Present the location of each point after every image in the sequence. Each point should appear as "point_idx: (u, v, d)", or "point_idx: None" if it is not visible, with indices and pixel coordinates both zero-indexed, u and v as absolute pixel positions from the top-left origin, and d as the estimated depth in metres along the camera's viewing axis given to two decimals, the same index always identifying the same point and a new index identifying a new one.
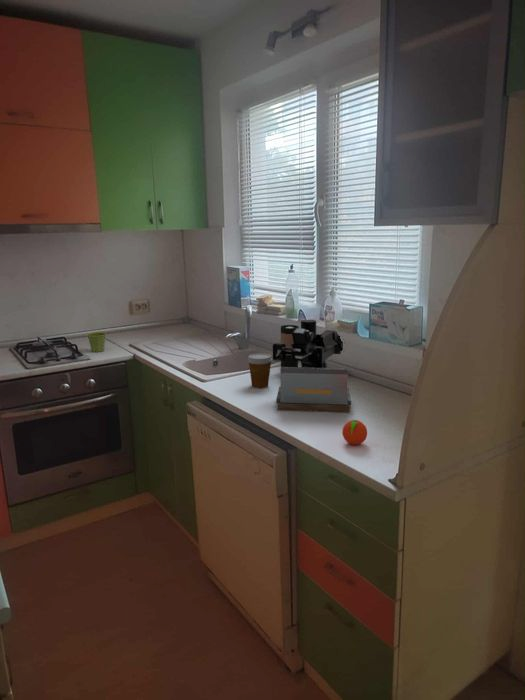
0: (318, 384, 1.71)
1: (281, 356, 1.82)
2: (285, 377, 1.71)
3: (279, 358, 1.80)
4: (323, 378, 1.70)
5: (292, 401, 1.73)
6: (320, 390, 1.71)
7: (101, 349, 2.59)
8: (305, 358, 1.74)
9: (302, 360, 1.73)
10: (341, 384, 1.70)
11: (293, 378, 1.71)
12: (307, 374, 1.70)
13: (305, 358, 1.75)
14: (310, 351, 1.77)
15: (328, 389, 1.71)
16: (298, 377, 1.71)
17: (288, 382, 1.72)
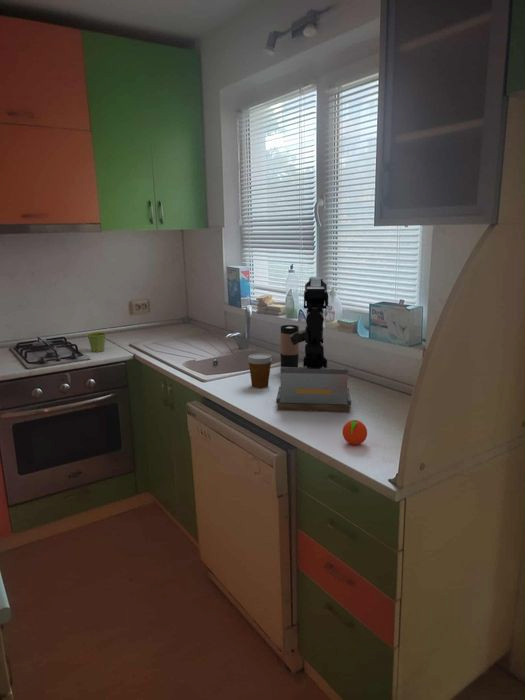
0: (318, 384, 1.71)
1: None
2: (285, 377, 1.71)
3: None
4: (323, 378, 1.70)
5: (292, 401, 1.73)
6: (320, 390, 1.71)
7: (101, 349, 2.59)
8: (312, 364, 1.78)
9: None
10: (341, 384, 1.70)
11: (293, 378, 1.71)
12: (307, 374, 1.70)
13: (313, 364, 1.78)
14: None
15: (328, 389, 1.71)
16: (298, 377, 1.71)
17: (288, 382, 1.72)
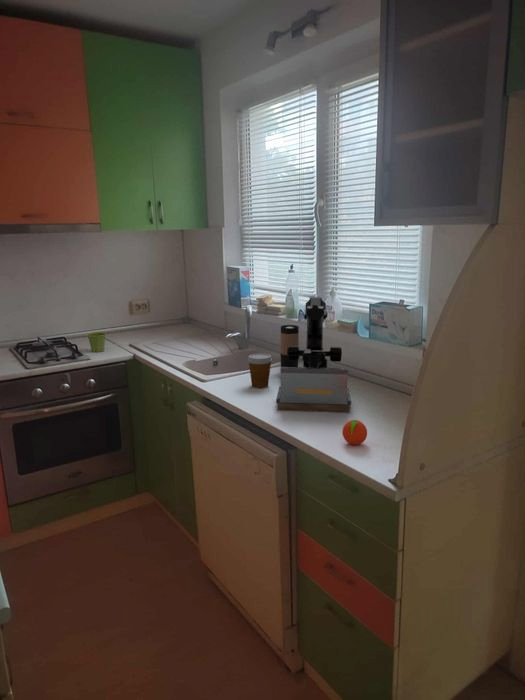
0: (318, 384, 1.71)
1: None
2: (285, 377, 1.71)
3: None
4: (323, 378, 1.70)
5: (292, 401, 1.73)
6: (320, 390, 1.71)
7: (101, 349, 2.59)
8: None
9: None
10: (341, 384, 1.70)
11: (293, 378, 1.71)
12: (307, 374, 1.70)
13: None
14: None
15: (328, 389, 1.71)
16: (298, 377, 1.71)
17: (288, 382, 1.72)
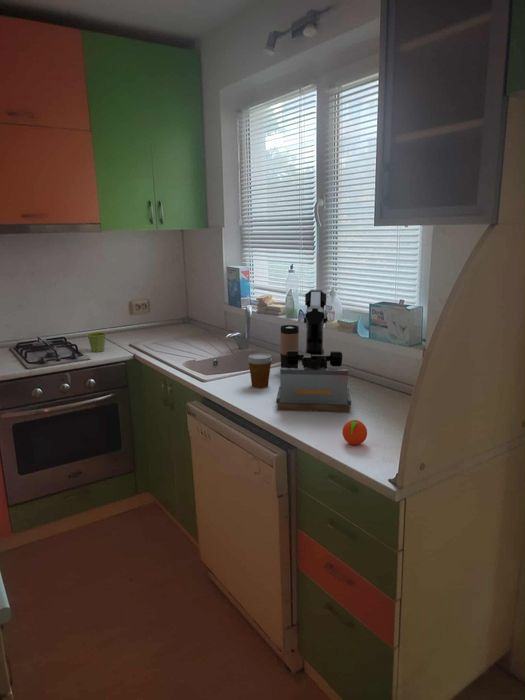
0: (318, 385, 1.70)
1: None
2: (285, 378, 1.71)
3: None
4: (323, 379, 1.69)
5: (292, 401, 1.73)
6: (320, 391, 1.70)
7: (101, 349, 2.59)
8: None
9: None
10: (341, 384, 1.69)
11: (293, 379, 1.70)
12: (307, 375, 1.69)
13: None
14: None
15: (328, 390, 1.70)
16: (298, 378, 1.70)
17: (288, 383, 1.71)
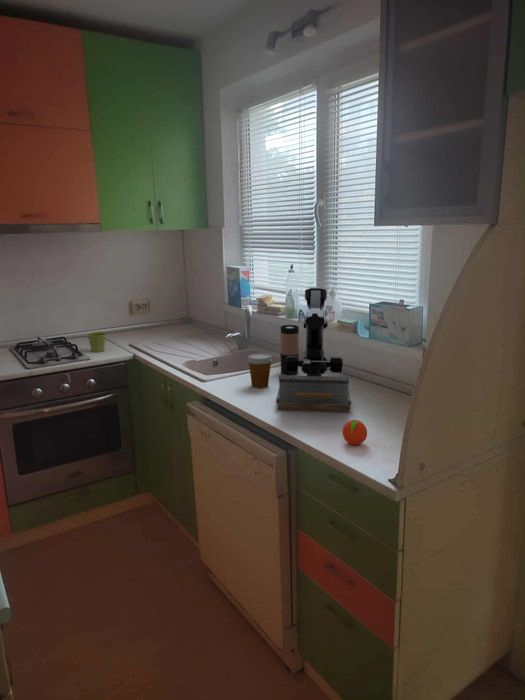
0: (318, 390, 1.68)
1: None
2: (284, 385, 1.67)
3: None
4: (323, 386, 1.66)
5: (292, 402, 1.73)
6: (320, 395, 1.69)
7: (101, 349, 2.59)
8: None
9: None
10: (341, 390, 1.67)
11: (292, 386, 1.67)
12: (307, 383, 1.66)
13: None
14: None
15: (328, 394, 1.68)
16: (297, 385, 1.67)
17: (287, 388, 1.68)
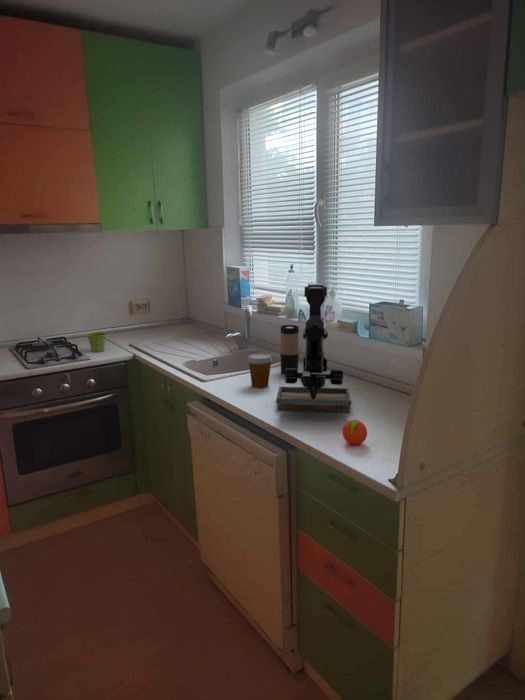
0: None
1: None
2: None
3: None
4: None
5: None
6: None
7: (101, 349, 2.59)
8: (310, 395, 1.65)
9: (311, 398, 1.64)
10: None
11: None
12: None
13: (310, 394, 1.65)
14: None
15: None
16: None
17: None
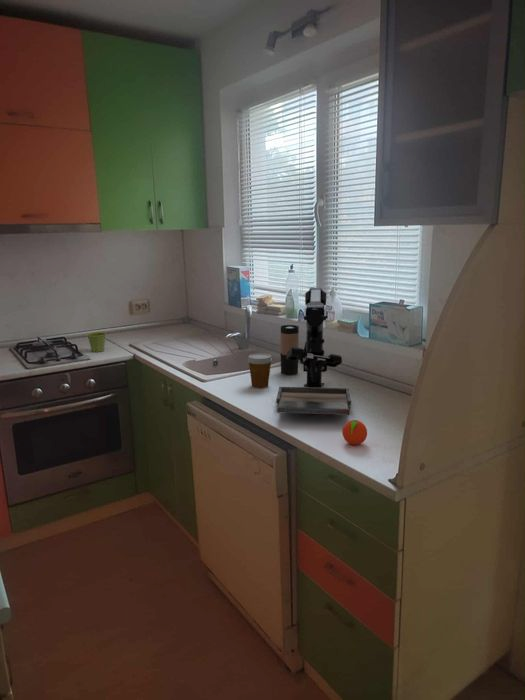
0: None
1: (316, 366, 1.76)
2: None
3: (315, 373, 1.75)
4: None
5: None
6: None
7: (101, 349, 2.59)
8: (310, 375, 1.76)
9: (312, 379, 1.75)
10: None
11: None
12: None
13: (310, 375, 1.75)
14: None
15: None
16: None
17: None
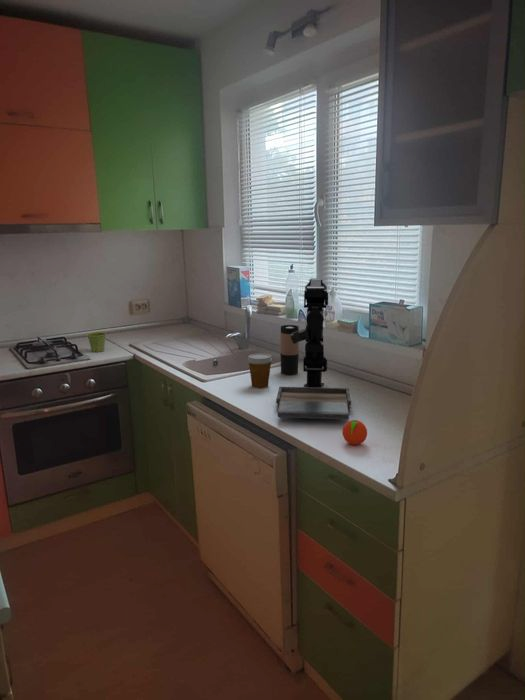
0: None
1: None
2: None
3: None
4: None
5: None
6: None
7: (101, 349, 2.59)
8: (313, 361, 1.83)
9: (314, 365, 1.83)
10: None
11: None
12: None
13: (313, 361, 1.82)
14: None
15: None
16: None
17: None
